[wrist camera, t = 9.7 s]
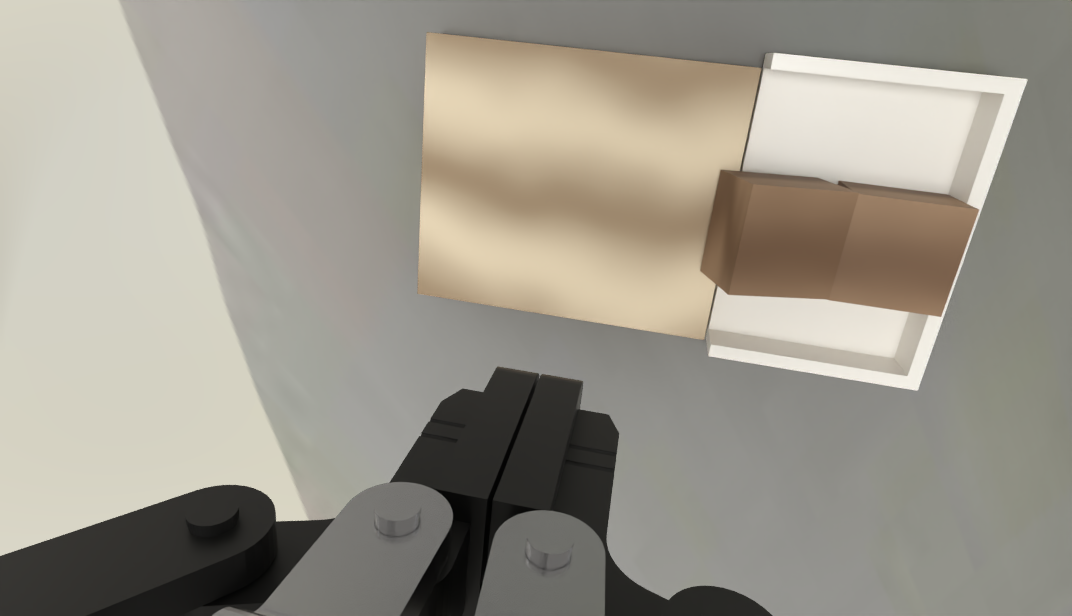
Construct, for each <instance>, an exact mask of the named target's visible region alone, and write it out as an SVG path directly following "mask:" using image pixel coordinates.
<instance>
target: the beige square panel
mask: <svg viewBox="0 0 1072 616" xmlns="http://www.w3.org/2000/svg"><path fill="white" fill-rule="evenodd" d="M760 73H761V68H757V67H748V66H738V65H729V64H720V63H710V62H701V61H692V60H682V59H673V58H664V57H654V56H645V55H636V54H626V53H617V52H608V51H598V50H589V49H580V48H570V47H561V46H552V45H542V44H533V43H524V42H514V41H505V40H496V39H486V38H477V37H467V36H458V35H449V34H439V33H429V32H427V35H426V64H425V93H424V121H423V150H422V179H421V207H420V236H419V265H418V293H417V294H423V295H429V296H436V297H442V298H448V299H454V300H460V301H466V302H473V303H479V304H485V305H491V306H497V307H504V308H510V309H516V310H522V311H528V312H534V313H541V314H547V315H553V316H559V317H565V318H571V319H578V320H584V321H590V322H596V323H602V324H609V325H615V326H621V327H627V328H633V329H639V330H646V331H652V332H658V333H664V334H670V335H676V336H683V337H689V338H695V339H701V340H704V337H705V332H706V328H707V323H708V318H709V314H710V309H711V304H712V299H713V295H714V290H715V285H716V284H715V283H714V282H713V281H711V280H710V279H709V278H708V277H707V276H706V275H704V274H703V273H702V272H701V271H700V269H701V264H702V259H703V254H704V249H705V244H706V240H707V235H708V230H709V225H710V220H711V215H712V210H713V205H714V201H715V196H716V191H717V186H718V181H719V176H720V171H721V170H732V171H740V167H741V162H742V158H743V153H744V148H745V143H746V139H747V134H748V129H749V125H750V120H751V115H752V110H753V106H754V101H755V96H756V92H757V87H758V82H759V77H760Z"/></svg>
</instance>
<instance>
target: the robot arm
mask: <svg viewBox="0 0 1072 616" xmlns="http://www.w3.org/2000/svg"><path fill="white" fill-rule="evenodd" d="M582 389H583V381H579V380H574V379H568V378H562V377H556V376H551V375H545V374H542V375H541V376H540V379H539V374H538V373H533V372H527V371H521V370H515V369H510V368H504V367H497V368H496V370H495V371H494V373H493V375H492V377H491V379H490V381H489V383H488V384H487V386H486V388H485V390H484V392H479V391H473V390H467V389H461V390H460V391H458V392H456V393H455V394H453V395H451V396H450V397H448V398H446V399H445V400H443V401H442V402H441V403H440V405H439V406H438V408H437V409H436V411H435V413H434V414H433V416H432V417H431V420H430V422H428V423H427V425H426V427H425V428H424V430H423V431H422V434H421V436H419V438H418V439H417V441H416V442H415V444H414V445H413V447H412V448H411V450H410V452H409V453H408V455H407V456H406V458H405V459H404V461H403V462H402V464H401V466H400V467H399V469H398V470H397V472H396V473H395V475H394V477H393V478H392V480H391V481H390V483H385V484H381V485H377V486H374V487H371V488H368V489H366V490H364V491H362V492H361V493H359V494H358V495H356V496H355V497H353V498H352V499H351V500H350V501H349V502H348V504H347V505H346V506H345V507H344V508H343V509H342V511H341V512H340V513H339V514H338V515H337V517H336V518H333V519H327V520H311V521H281V522H276V513H275V507H274V504H273V502H272V501H271V499H270V498H269V497H268V496H267V495H266V494H264V493H262V492H261V491H259V490H256V489H254V488H250V487H246V486H239V485H221V486H213V487H208V488H204V489H200V490H196V491H194V492H190V493H188V494H184V495H181V496H179V497H175V498H172V499H169V500H167V501H164V502H160V503H158V504H154V505H152V506H149V507H146V508H143V509H140V510H137V511H134V512H131V513H128V514H125V515H122V516H119V517H116V518H113V519H110V520H107V521H104V522H101V523H98V524H95V525H92V526H89V527H86V528H83V529H80V530H77V531H74V532H71V533H68V534H65V535H62V536H59V537H56V538H53V539H50V540H47V541H44V542H41V543H38V544H35V545H32V546H29V547H26V548H23V549H20V550H17V551H14V552H11V553H8V554H5V555H2V556H0V616H772V615H771V614H770V613H769V612H768V611H767V610H766V609H764V608H763V607H762V606H760V605H759V604H758V603H756V602H755V601H753V600H751V599H750V598H748V597H746V596H744V595H742V594H739V593H737V592H735V591H732V590H728V589H725V588H720V587H715V586H696V587H691V588H687V589H684V590H682V591H680V592H678V593H676V594H675V595H674V596H672V597H671V598H670V600H667V599H665V598H663V597H661V596H659V595H657V594H655V593H653V592H651V591H648V590H647V589H645V588H643V587H641V586H639V585H638V584H636V583H635V582H634V581H632V580H631V579H629V578H628V577H627V576H626V575H625V574H624V573H623V572H622V571H621V570H620V569H619V568H618V566H617V565H616V564H615V562H614V561H613V559H612V558H611V556H610V553H609V551H608V547H607V542H606V535H607V527H608V519H609V511H610V502H611V494H612V486H613V478H614V470H615V462H616V454H617V446H618V438H619V433H618V431H617V429H616V427H615V425H614V423H613V422H612V420H611V418H610V416H609V415H607V414H602V413H596V412H591V411H585V410H580V404H581V397H582Z"/></svg>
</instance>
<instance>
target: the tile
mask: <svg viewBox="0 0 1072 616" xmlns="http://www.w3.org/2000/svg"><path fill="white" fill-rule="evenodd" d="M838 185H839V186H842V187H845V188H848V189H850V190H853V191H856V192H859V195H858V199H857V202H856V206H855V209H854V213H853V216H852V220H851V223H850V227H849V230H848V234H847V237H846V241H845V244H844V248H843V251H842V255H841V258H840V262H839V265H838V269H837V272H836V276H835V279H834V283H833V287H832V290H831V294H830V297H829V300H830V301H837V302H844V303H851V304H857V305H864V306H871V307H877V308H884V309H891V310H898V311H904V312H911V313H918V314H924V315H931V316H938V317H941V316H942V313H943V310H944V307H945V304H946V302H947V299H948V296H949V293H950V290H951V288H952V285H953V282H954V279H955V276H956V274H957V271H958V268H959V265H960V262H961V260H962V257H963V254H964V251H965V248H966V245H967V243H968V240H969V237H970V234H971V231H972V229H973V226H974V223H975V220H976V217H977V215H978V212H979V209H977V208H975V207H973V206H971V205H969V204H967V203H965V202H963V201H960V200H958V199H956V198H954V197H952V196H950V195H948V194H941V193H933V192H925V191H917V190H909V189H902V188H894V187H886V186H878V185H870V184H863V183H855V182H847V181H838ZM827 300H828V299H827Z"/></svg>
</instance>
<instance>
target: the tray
mask: <svg viewBox="0 0 1072 616" xmlns="http://www.w3.org/2000/svg"><path fill="white" fill-rule="evenodd" d="M1027 80H1028V79H1021V78H1011V77H1001V76H992V75H982V74H972V73H963V72H953V71H943V70H934V69H924V68H915V67H905V66H895V65H886V64H876V63H866V62H857V61H847V60H838V59H828V58H818V57H809V56H799V55H789V54H780V53H766V54H765V59H764V64H763V68H762V73H761V78H760V82H759V87H758V92H757V96H756V101H755V106H754V111H753V115H752V120H751V125H750V129H749V134H748V139H747V144H746V148H745V153H744V158H743V162H742V167H741V171H744V172H756V173H768V174H780V175H792V176H804V177H817V178H820V179H823V180H826V181H828V182H831V183H834V184H837V185H838V181H847V182H855V183H863V184H870V185H878V186H886V187H894V188H902V189H909V190H917V191H925V192H933V193H941V194H948V195H950V196H952V197H954V198H956V199H958V200H960V201H963V202H965V203H967V204H969V205H971V206H973V207H975V208H977V209H979V212H978V215H977V217H976V220H975V223H974V226H973V229H972V231H971V234H970V237H969V240H968V243H967V245H966V248H965V251H964V254H963V257H962V260H961V262H960V265H959V268H958V271H957V274H956V276H955V279H954V282H953V285H952V288H951V290H950V293H949V296H948V299H947V302H946V304H945V307H944V310H943V313H942V316H941V317H938V316H931V315H924V314H918V313H911V312H904V311H898V310H891V309H884V308H877V307H871V306H864V305H857V304H851V303H844V302H837V301H830V300H827V299H806V298H784V297H762V296H740V295H728V294H727V293H725V292H724V291H723V290H722V289H721V288H720V287H718V286H717V285H716V290H715V294H714V299H713V304H712V309H711V313H710V318H709V323H708V327H707V332H706V342H707V349H708V356H711V357H717V358H723V359H729V360H735V361H741V362H747V363H753V364H759V365H765V366H771V367H777V368H784V369H790V370H796V371H802V372H808V373H814V374H820V375H826V376H832V377H838V378H844V379H850V380H856V381H862V382H868V383H875V384H881V385H887V386H893V387H899V388H905V389H911V390H917V391H918V388H919V385H920V382H921V380H922V377H923V374H924V371H925V368H926V365H927V363H928V360H929V357H930V354H931V351H932V348H933V346H934V343H935V340H936V337H937V334H938V331H939V329H940V326H941V323H942V320H943V317H944V315H945V312H946V309H947V306H948V303H949V300H950V298H951V295H952V292H953V289H954V286H955V283H956V281H957V278H958V275H959V272H960V269H961V266H962V264H963V261H964V258H965V255H966V252H967V249H968V247H969V244H970V241H971V238H972V235H973V233H974V230H975V227H976V224H977V221H978V218H979V216H980V213H981V210H982V207H983V204H984V201H985V199H986V196H987V193H988V190H989V187H990V184H991V182H992V179H993V176H994V173H995V170H996V168H997V165H998V162H999V159H1000V156H1001V153H1002V151H1003V148H1004V145H1005V142H1006V139H1007V136H1008V134H1009V131H1010V128H1011V125H1012V122H1013V119H1014V117H1015V114H1016V111H1017V108H1018V105H1019V103H1020V100H1021V97H1022V94H1023V91H1024V88H1025V86H1026V83H1027Z"/></svg>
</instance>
